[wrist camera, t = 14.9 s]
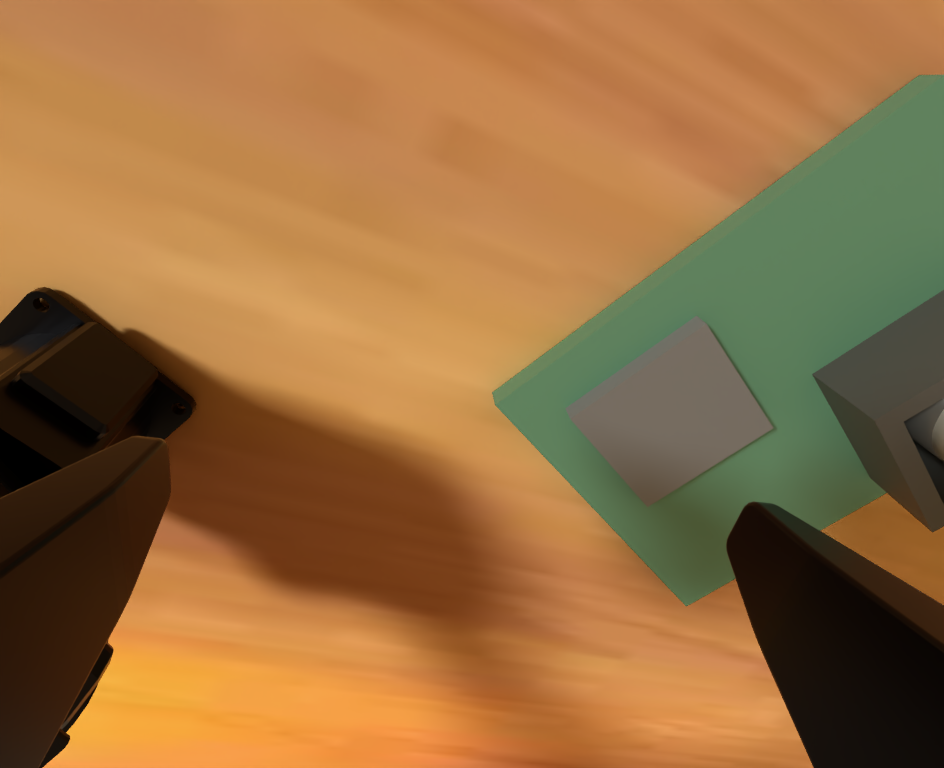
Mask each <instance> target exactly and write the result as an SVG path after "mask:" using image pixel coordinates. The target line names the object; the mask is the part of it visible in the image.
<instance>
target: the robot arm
mask: <svg viewBox="0 0 944 768" xmlns="http://www.w3.org/2000/svg"><path fill="white" fill-rule="evenodd" d="M40 298H42V299H44V300H46V301H47V302H48V303H49V307H50V308H47V307H45V306H43V305H42V303H41V302H40ZM176 403H180V404H182V405H183V406H184V407H185V409H180V408H178V407H177V406H176ZM195 409H196V403H195V400H194V399H193V398H192V397H191V396H190V395H189V394H187V393H186V392H185V391H183V390H182V389H181V388H180V387H178V386H177V385H176V384H174V383H173V382H172V381H171V380H169V379H168V378H167V377H165V376H164V375H163V374H162V373H160V372H159V371H158V370H157V369H156V367H154V366H153V365H152V364H151V363H149V362H148V361H147V360H145V359H144V358H143V357H142V356H140V355H139V354H138V353H136V352H135V351H134V350H133V349H131V348H130V347H129V346H127V345H126V344H125V343H124V342H122V341H121V340H120V339H118V338H117V337H116V336H115V335H113V334H112V333H111V332H109V331H108V330H107V329H106V328H104V327H103V326H102V325H100V324H99V323H96V322H95V321H93V320H92V319H91V318H89V317H88V316H87V315H86V314H84V313H83V312H82V311H80V310H79V309H78V308H77V307H75V306H74V305H73V304H71V303H70V302H69V301H68V300H66V299H65V298H64V297H62V296H61V295H60V294H59V293H57V292H56V291H54V290H52V289H50V288H46V287H42V288H37V289H36V290H34V291H32V292H30V293H29V294H27V295H26V296H25V297H24V298H23V299H22V300H21V302H20V303H19V304H18V305H17V306H16V307H15V308H14V309H13V310H12V311H11V312H10V313H9V314H8V315H7V316H6V318H5V319H4V320H3V321H2V322H1V323H0V768H42V767H44V766H45V765H46V764H47V763H48V762H49V761H50V760H52V759H53V758H54V757H55V756H56V755H57V754H59V753H60V752H61V751H62V750H63V749H64V748H65V747H66V745H67V744H68V742H69V740H70V736H69V735H68V734H67V733H66V732H67V731H68V730H69V728H70V727H71V726H72V725H73V724H74V723H75V721H76V720H77V718H78V717H79V716H80V714H81V713H82V711H83V710H84V709H85V707H86V706H87V704H88V703H89V701H90V699H91V697H92V695H93V693H94V691H95V690H96V688H97V685H98V683H99V681H100V679H101V677H102V676H103V674H104V672H105V670H106V669H107V667H108V665H109V663H110V661H111V657H112V654H113V647H112V646H111V645H110V644H109V643H108V639H109V637H110V635H111V633H112V631H113V629H114V628H115V626H116V624H117V622H118V620H119V618H120V616H121V614H122V612H123V610H124V608H125V606H126V604H127V603H128V601H129V598H130V596H131V594H132V591H133V589H134V587H135V584H136V582H137V579H138V577H139V574H140V572H141V569H142V567H143V564H144V562H145V559H146V557H147V554H148V552H149V549H150V547H151V544H152V542H153V539H154V537H155V534H156V531H157V529H158V526H159V524H160V521H161V519H162V516H163V514H164V511H165V509H166V506H167V504H168V501H169V497H170V492H171V479H170V463H169V449H168V445H167V442H166V441H165V440H164V439H165V438H167V437H168V436H169V435H170V434H171V433H172V432H173V431H175V430H176V429H177V428H178V427H179V426H180V425H181V424H183V423H184V422H185V421H186V420H187V419H188V418H189V417H190V416H191V415H192V413H193V412H194V410H195ZM726 549H727V554H728V557H729V560H730V563H731V566H732V569H733V572H734V575H735V578H736V581H737V584H738V587H739V590H740V593H741V596H742V599H743V602H744V604H745V607H746V610H747V613H748V616H749V619H750V622H751V625H752V628H753V631H754V633H755V636H756V639H757V641H758V644H759V646H760V648H761V651H762V653H763V655H764V658H765V660H766V662H767V664H768V667H769V669H770V671H771V673H772V676H773V678H774V680H775V682H776V684H777V687H778V689H779V691H780V693H781V696H782V698H783V700H784V702H785V705H786V707H787V709H788V711H789V714H790V716H791V718H792V720H793V723H794V725H795V727H796V729H797V731H798V734H799V736H800V738H801V740H802V743H803V745H804V747H805V749H806V752H807V754H808V756H809V758H810V761H811V763H812V765H813V767H814V768H944V605H942V604H941V603H939V602H937V601H936V600H934V599H932V598H931V597H929V596H927V595H926V594H924V593H922V592H921V591H919V590H917V589H916V588H914V587H912V586H911V585H909V584H907V583H906V582H904V581H902V580H901V579H899V578H897V577H896V576H894V575H892V574H891V573H889V572H887V571H886V570H884V569H882V568H881V567H879V566H877V565H876V564H874V563H872V562H871V561H869V560H867V559H866V558H864V557H862V556H861V555H859V554H857V553H856V552H854V551H852V550H851V549H849V548H847V547H846V546H844V545H843V544H841V543H839V542H838V541H836V540H834V539H833V538H831V537H829V536H828V535H826V534H824V533H823V532H821V531H819V530H818V529H816V528H814V527H813V526H811V525H809V524H808V523H806V522H804V521H803V520H801V519H799V518H798V517H796V516H794V515H793V514H791V513H789V512H788V511H786V510H784V509H783V508H781V507H779V506H778V505H776V504H772V503H764V502H755V501H753V502H749V503H748V504H746V505H745V506H744V508H743V509H742V511H741V513H740V515H739V517H738V519H737V520H736V522H735V524H734V526H733V528H732V530H731V532H730V534H729V536H728V538H727V542H726Z"/></svg>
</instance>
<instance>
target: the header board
mask: <svg viewBox="0 0 944 768" xmlns="http://www.w3.org/2000/svg"><path fill="white" fill-rule="evenodd" d="M492 394H493V398H494V402H495V405H496V406H497V407H498V408H499V410H500V411H501V412H502V413H503V414H504V415H505V416H506V417H507V418H508V419H509V420H510V421H511V422H512V423H513V424H514V425H515V426H516V427H517V428H518V430H519V431H520V432H521V433H522V434H523V435H524V436H525V437H526V438H527V439H528V440H529V441H530V442H531V443H532V444H533V445H534V446H535V447H536V449H537V450H538V451H539V452H540V453H541V454H542V455H543V456H544V457H545V458H546V459H547V460H548V461H549V462H550V463H551V464H552V465H553V466H554V467H555V469H556V470H557V471H558V472H559V473H560V474H561V475H562V476H563V477H564V478H565V479H566V480H567V481H568V482H569V483H570V484H571V485H572V486H573V488H574V489H575V490H576V491H577V492H578V493H579V494H580V495H581V496H582V497H583V498H584V499H585V500H586V501H587V502H588V503H589V504H590V505H591V506H592V508H593V509H594V510H595V511H596V512H597V513H598V514H599V515H600V516H601V517H602V518H603V519H604V520H605V521H606V522H607V523H608V524H609V525H610V527H611V528H612V529H613V530H614V531H615V532H616V533H617V534H618V535H619V536H620V537H621V538H622V539H623V540H624V541H625V542H626V543H627V544H628V546H629V547H630V548H631V549H632V550H633V551H634V552H635V553H636V554H637V555H638V556H639V557H640V558H641V559H642V560H643V561H644V562H645V563H646V564H647V566H648V567H649V568H650V569H651V570H652V571H653V572H654V573H655V574H656V575H657V576H658V577H659V578H660V579H661V580H662V581H663V582H664V583H665V585H666V586H667V587H668V588H669V589H670V590H671V591H672V592H673V593H674V594H675V595H676V596H677V597H678V598H679V599H680V600H681V601H682V602H683V603H684V605H685V606H688V605H690V604H692V603H693V602H695V601H697V600H699V599H700V598H702V597H704V596H706V595H707V594H709V593H711V592H713V591H714V590H716V589H718V588H720V587H722V586H723V585H725V584H727V583H729V582H730V581H732V580H734V579H736V578H735V575H734V572H733V569H732V566H731V563H730V560H729V557H728V554H727V549H726V542H727V538H728V536H729V534H730V532H731V530H732V528H733V526H734V524H735V522H736V520H737V519H738V517H739V515H740V513H741V511H742V509H743V508H744V506H745V505H746V504H748V503H749V502H753V501H755V502H764V503H772V504H776V505H778V506H779V507H781V508H783V509H784V510H786V511H788V512H789V513H791V514H793V515H794V516H796V517H798V518H799V519H801V520H803V521H804V522H806V523H808V524H809V525H811V526H813V527H814V528H816V529H818V530H819V531H820V530H822V529H824V528H826V527H827V526H829V525H831V524H833V523H835V522H836V521H838V520H840V519H842V518H843V517H845V516H847V515H849V514H850V513H852V512H854V511H856V510H857V509H859V508H861V507H863V506H865V505H866V504H868V503H870V502H872V501H873V500H875V499H877V498H879V497H880V496H882V495H884V494H886V493H888V494H889V495H890V496H891V497H893V498H894V499H895V500H896V501H897V502H898V503H899V504H901V505H902V506H903V507H904V508H905V509H906V510H907V511H909V512H910V513H911V514H912V515H913V516H914V517H915V518H917V519H918V520H919V521H920V522H921V523H922V524H923V525H925V526H926V527H927V528H928V529H929V530H930V531H932V532H934V531H936V530H938V529H940V528H942V527H943V526H944V461H942V460H940V459H939V458H938V457H936V456H935V455H933V454H932V453H931V452H929V451H928V450H927V449H925V448H924V447H923V446H921V445H920V444H918V443H917V442H916V441H914V440H913V439H912V438H911V436H910V434H909V432H908V430H907V428H906V426H905V424H904V421H906V420H907V419H909V418H911V417H912V416H914V415H916V414H917V413H919V412H921V411H922V410H924V409H926V408H928V407H929V406H931V405H933V404H934V403H936V402H938V401H939V400H941V399H943V398H944V75H919V76H917V77H916V78H915V79H913V80H912V81H911V82H909V83H908V84H907V85H905V86H904V87H903V88H901V89H900V90H899V91H897V92H896V93H895V94H893V95H892V96H891V97H889V98H888V99H887V100H885V101H884V102H882V103H881V104H880V105H878V106H877V107H876V108H874V109H873V110H872V111H870V112H869V113H868V114H866V115H865V116H864V117H862V118H861V119H860V120H858V121H857V122H856V123H854V124H853V125H852V126H850V127H849V128H848V129H846V130H845V131H843V132H842V133H841V134H839V135H838V136H837V137H835V138H834V139H833V140H831V141H830V142H829V143H827V144H826V145H825V146H823V147H822V148H821V149H819V150H818V151H817V152H815V153H814V154H813V155H811V156H810V157H809V158H807V159H806V160H804V161H803V162H802V163H800V164H799V165H798V166H796V167H795V168H794V169H792V170H791V171H790V172H788V173H787V174H786V175H784V176H783V177H782V178H780V179H779V180H778V181H776V182H775V183H774V184H772V185H771V186H770V187H768V188H767V189H765V190H764V191H763V192H761V193H760V194H759V195H757V196H756V197H755V198H753V199H752V200H751V201H749V202H748V203H747V204H745V205H744V206H743V207H741V208H740V209H739V210H737V211H736V212H735V213H733V214H732V215H731V216H729V217H728V218H726V219H725V220H724V221H722V222H721V223H720V224H718V225H717V226H716V227H714V228H713V229H712V230H710V231H709V232H708V233H706V234H705V235H704V236H702V237H701V238H700V239H698V240H697V241H696V242H694V243H693V244H692V245H690V246H689V247H687V248H686V249H685V250H683V251H682V252H681V253H679V254H678V255H677V256H675V257H674V258H673V259H671V260H670V261H669V262H667V263H666V264H665V265H663V266H662V267H661V268H659V269H658V270H657V271H655V272H654V273H653V274H651V275H650V276H648V277H647V278H646V279H644V280H643V281H642V282H640V283H639V284H638V285H636V286H635V287H634V288H632V289H631V290H630V291H628V292H627V293H626V294H624V295H623V296H622V297H620V298H619V299H618V300H616V301H615V302H614V303H612V304H611V305H609V306H608V307H607V308H605V309H604V310H603V311H601V312H600V313H599V314H597V315H596V316H595V317H593V318H592V319H591V320H589V321H588V322H587V323H585V324H584V325H583V326H581V327H580V328H579V329H577V330H576V331H575V332H573V333H572V334H570V335H569V336H568V337H566V338H565V339H564V340H562V341H561V342H560V343H558V344H557V345H556V346H554V347H553V348H552V349H550V350H549V351H548V352H546V353H545V354H544V355H542V356H541V357H540V358H538V359H537V360H535V361H534V362H533V363H531V364H530V365H529V366H527V367H526V368H525V369H523V370H522V371H521V372H519V373H518V374H517V375H515V376H514V377H513V378H511V379H510V380H509V381H507V382H506V383H505V384H503V385H502V386H501V387H499V388H498V389H496V390H495V391H494V392H492Z"/></svg>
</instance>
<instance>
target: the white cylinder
mask: <svg viewBox="0 0 944 768" xmlns="http://www.w3.org/2000/svg"><path fill="white" fill-rule="evenodd" d="M904 424H905V426H906V428H907V430H908V432H909V434H910V436H911V438H912V439H913V440H914V441H916V442H917V443H918V444H920V445H921V446H923V447H924V448H925V449H927V450H928V451H929V452H931V453H932V454H933V455H935V456H936V457H938V458H939V459H940V460H942V461H944V398H943V399H941V400H939V401H938V402H936V403H934V404H933V405H931V406H929V407H928V408H926V409H924V410H922V411H921V412H919V413H917V414H916V415H914V416H912V417H911V418H909V419H907V420H906V421H904Z"/></svg>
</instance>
